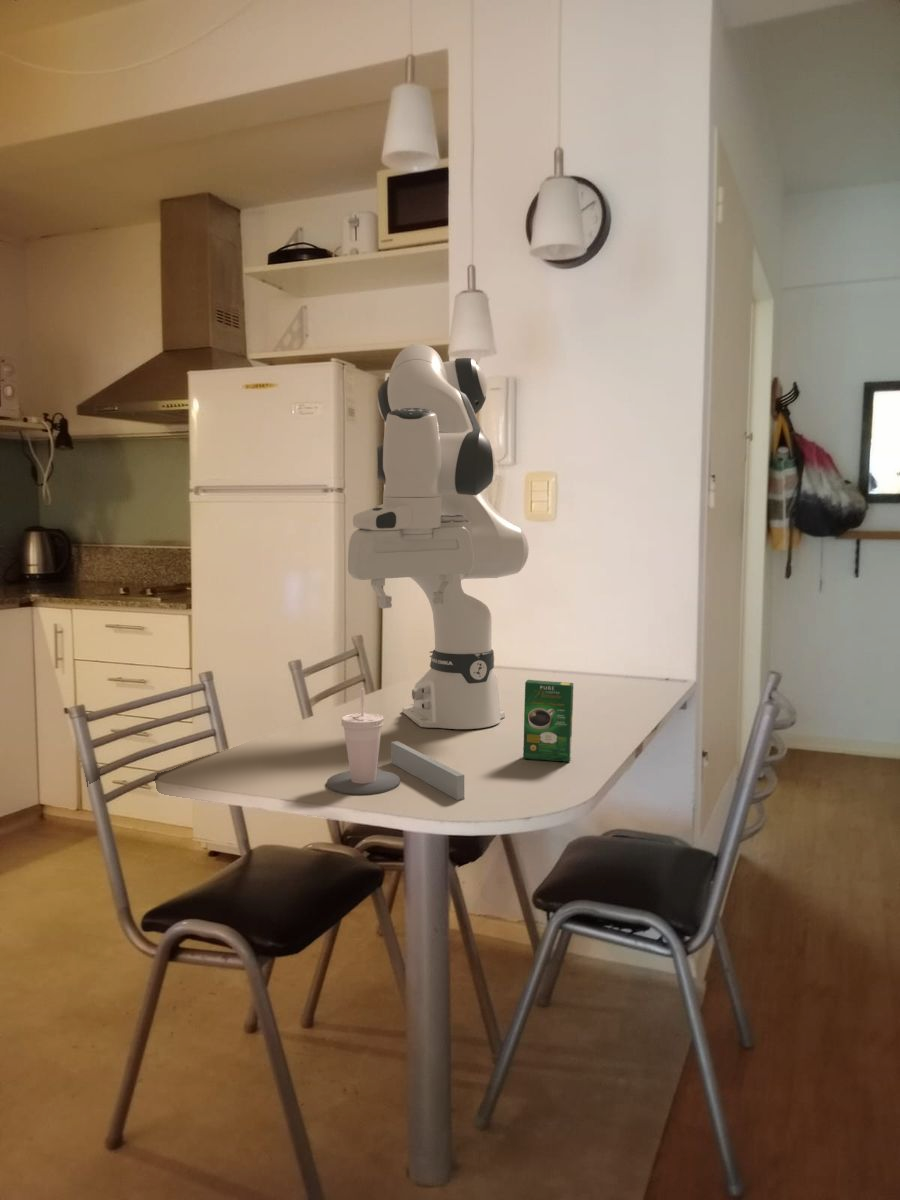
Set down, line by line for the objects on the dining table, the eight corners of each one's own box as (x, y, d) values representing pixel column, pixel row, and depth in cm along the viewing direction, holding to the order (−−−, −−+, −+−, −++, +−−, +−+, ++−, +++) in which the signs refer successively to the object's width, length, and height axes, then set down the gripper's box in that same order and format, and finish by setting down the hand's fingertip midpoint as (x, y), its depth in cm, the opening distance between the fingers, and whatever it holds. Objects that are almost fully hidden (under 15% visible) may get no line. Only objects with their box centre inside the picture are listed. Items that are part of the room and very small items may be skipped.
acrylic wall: (391, 762, 148) (391, 741, 147) (397, 761, 148) (397, 741, 148) (457, 800, 129) (457, 776, 128) (464, 798, 129) (464, 774, 129)
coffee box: (573, 758, 150) (574, 680, 149) (571, 763, 147) (572, 684, 146) (525, 755, 152) (526, 678, 151) (522, 759, 149) (523, 681, 148)
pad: (316, 779, 139) (316, 776, 139) (381, 769, 144) (381, 766, 144) (343, 799, 129) (343, 795, 129) (412, 787, 135) (412, 784, 135)
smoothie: (385, 773, 140) (384, 684, 139) (383, 786, 134) (381, 693, 132) (344, 774, 140) (342, 685, 138) (340, 786, 133) (338, 693, 132)
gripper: (461, 513, 145) (461, 598, 147) (342, 516, 135) (344, 607, 137) (481, 515, 139) (480, 603, 141) (359, 518, 130) (360, 613, 132)
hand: (412, 605), depth 139 cm, fingers open, 8 cm apart
